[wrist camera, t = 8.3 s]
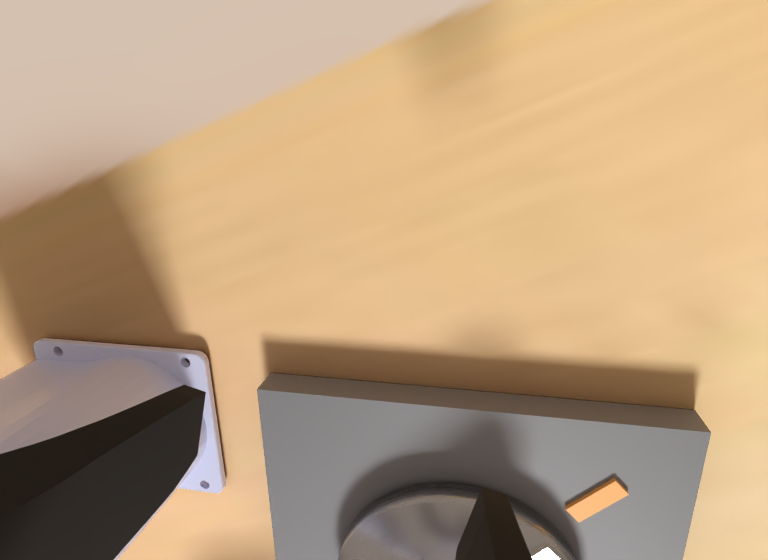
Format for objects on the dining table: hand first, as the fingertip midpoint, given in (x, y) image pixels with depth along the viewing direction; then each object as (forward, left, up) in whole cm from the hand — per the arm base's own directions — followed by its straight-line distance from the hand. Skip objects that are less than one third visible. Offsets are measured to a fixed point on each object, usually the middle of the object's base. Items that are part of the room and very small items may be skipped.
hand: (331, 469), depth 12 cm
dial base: (+3, -12, -9) cm, 16 cm away
